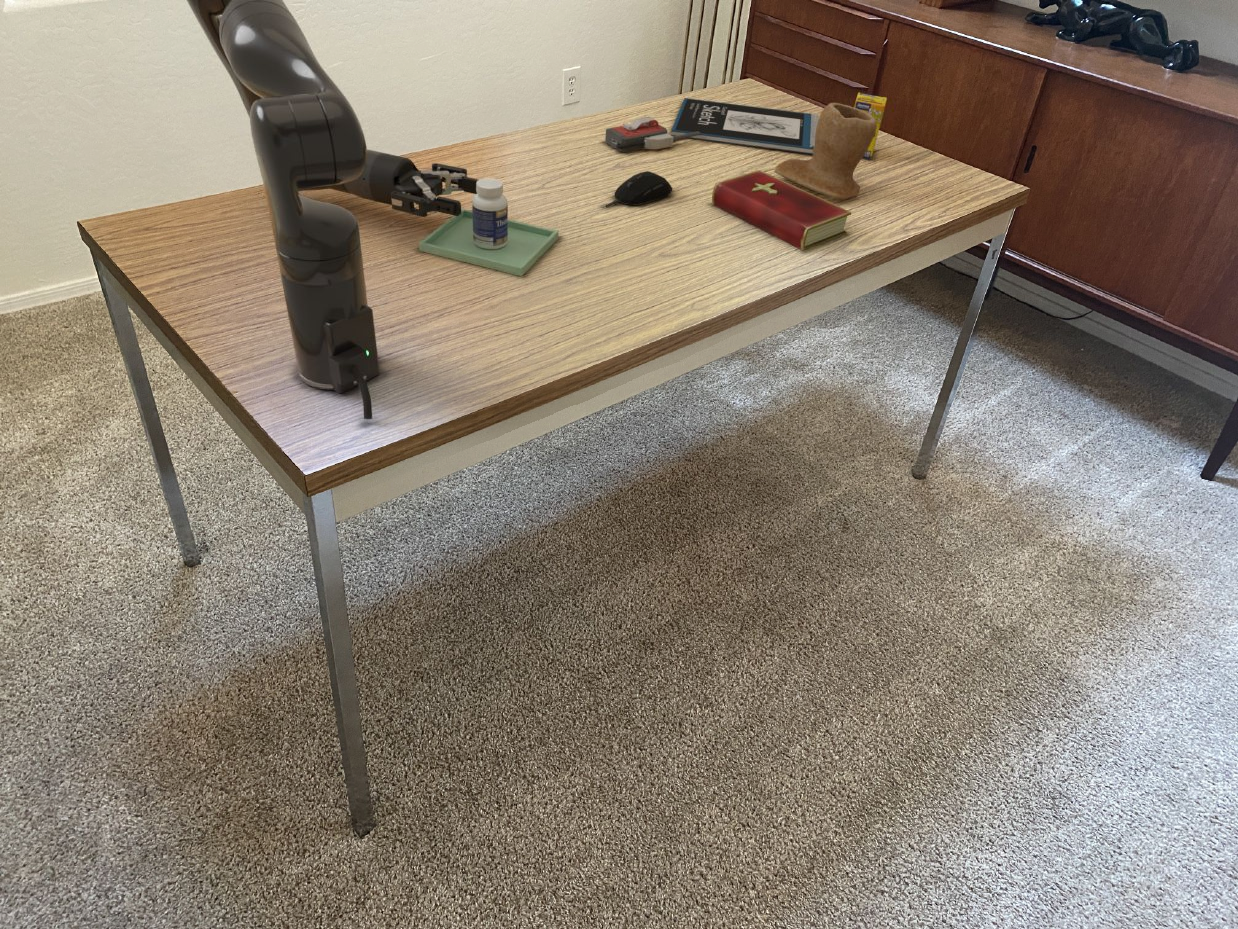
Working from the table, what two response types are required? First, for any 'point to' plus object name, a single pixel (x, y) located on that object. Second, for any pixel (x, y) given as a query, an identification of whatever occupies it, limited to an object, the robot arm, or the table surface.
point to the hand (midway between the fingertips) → (473, 198)
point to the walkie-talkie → (642, 136)
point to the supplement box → (874, 108)
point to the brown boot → (834, 152)
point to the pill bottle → (490, 214)
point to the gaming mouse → (642, 189)
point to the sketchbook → (747, 125)
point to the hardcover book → (781, 209)
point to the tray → (512, 258)
